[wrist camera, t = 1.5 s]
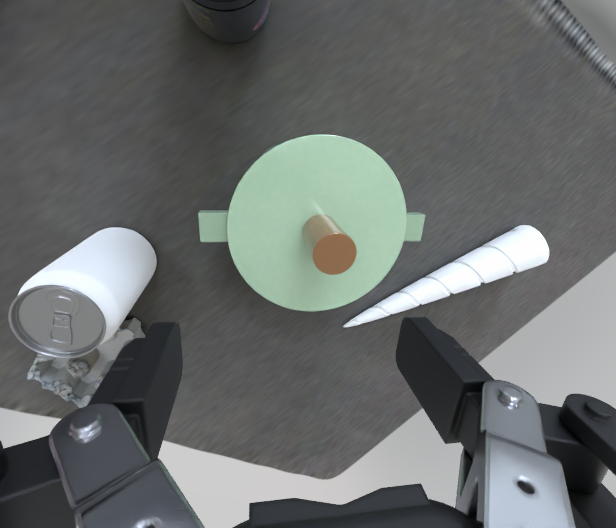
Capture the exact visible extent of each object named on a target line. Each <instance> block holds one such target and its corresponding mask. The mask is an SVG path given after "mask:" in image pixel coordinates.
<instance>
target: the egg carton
mask: <svg viewBox="0 0 616 528" xmlns="http://www.w3.org/2000/svg"><path fill="white" fill-rule="evenodd" d="M135 338H145V334H144V333H143V332H142V330H141V322H140V321H139V320H137V319H136V318H132V319H130V320H127V321H123V322H122V323H121V325H120V326H119V328H118V329H117V331H116V332H115V333H114V334H113V335H112V336H111V337H110V338H109V339H108V340H107V341H105V342H104V343H102V344H100V345H99V346H98V347H97V348H96V349H94V350H93V351H92V352H90V353H88V354H86V355H83V356H80V357H76V358H67V359H62V358H53V357H48V356H45V355H42V354H39V353H38V355H37V357H36V359H35V361H34V363H33V365H32V367H31V369H30V371H29V372H28V374H27V379H28V380H33V379H36V380H38V381H39V382H41V383H42V388H43V389H49V390H52V391H53V392H54V394H55V395H59V396H61V397H62V398H63V399H65V401H74V403H75V404H76V405H77V406H78V407H80V408H82V407H85V406H87V404H88V403H89V401H90V400H91V398H92V396H93V395H94V393H95V391H96V390H97V388H98V387H99V385H100V383H101V382H102V380H103V379H104V377H105V375H106V374H107V372H108V371H109V370H110V367H111V366H112V364H113V362H114V361H115V359H116V358H117V356H118V354H119V353H120V351H121V349H122V348H123V347H124V346H126V345H127V344H128V343H129V342H131V341H132V340H133V339H135Z"/></svg>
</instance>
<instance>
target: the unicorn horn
mask: <svg viewBox="0 0 616 528" xmlns="http://www.w3.org/2000/svg"><path fill="white" fill-rule="evenodd" d="M548 257H549V248H548V245H547V243H546V240H545V239H544V237H543V236H542V235H541V233H540V232H539V231H538V230H536V229H535V228H533V227H531V226H528V225H520V226H518V227H515V228H514V229H512V230H511V231H509V232H507V233H505V234H503V235H501V236H499V237H497V238H495V239H494V240H492V241H490V242H488V243H486V244H484V245H483V246H481V247H480V248H477V249H475V250H473V251H471V252H469V253H468V254H466V255H464V256H462V257H460V258H458V259H456V260H455V261H453V262H452V263H449V264H447V265H445V266H443V267H442V268H440V269H438V270H436V271H434V272H432V273H431V274H429V275H427V276H426V277H425V278H422V279H420V280H418V281H416V282H414V283H413V284H411V285H409V286H407V287H405V288H403V289H402V290H400V291H399V292H398V293H395V294H393V295H391V296H389V297H388V298H386V299H384V300H382V301H381V302H379V303H377V304H376V305H374V306H373V307H372V308H369V309H367V310H366V311H364V312H362V313H361V314H359V315H358V316H356V317H354V318H353V319H351V320H350V321H349V322H348V323H346V324H345V325H344V326H343V327H351V326H355V325H359V324H362V323H366V322H370V321H373V320H376V319H379V318H383V317H386V316H389V315H390V313H391V314H395V313H399V312H402V311H405V310H408V309H411V308H414V307H417V306H419V305H420V304H422V305H423V304H426V303H429V302H432V301H435V300H438V299H441V298H444V297H447V296H450V293H453V294H456V293H459V292H462V291H465V290H468V289H471V288H474V287H477V286H480V285H481V284H480V283H482V282H484V283H485V284H486V283H489V282H491V281H494V280H497V279H500V278H503V277H506V276H509V275H512V274H513V272H514V271H515V272H516V273H518V272H521V271H524V270H527V269H530V268H533V267H536V266H539V265H541V264H543V263H545V262H547V260H548Z"/></svg>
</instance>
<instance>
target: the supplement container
mask: <svg viewBox="0 0 616 528" xmlns="http://www.w3.org/2000/svg"><path fill="white" fill-rule="evenodd" d="M182 1H183V3H184V5H185V6H186V8H187V10H188V12H189V14H190V16H191V17H192V19H193V20H194V22H195V23H196V24H197V26H198V27H199V28H200V29H201V30H202V31H203V32H204V33H206V34H207V35H208V36H210V37H211V38H213V39H215V40H217V41H220V42H224V43H240V42H244V41H246V40H248V39H250V38H251V37H253V36H254V35H255V34H256V33H257V32H258V31H259V30H260V29H261V27H262V26H263V24H264V22H265V20H266V18H267V15H268V11H269V6H270V0H182Z"/></svg>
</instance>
